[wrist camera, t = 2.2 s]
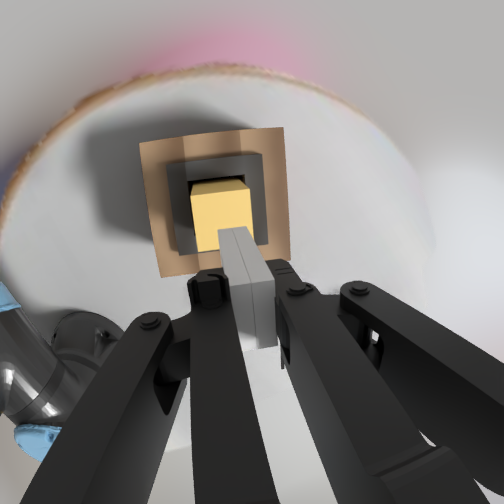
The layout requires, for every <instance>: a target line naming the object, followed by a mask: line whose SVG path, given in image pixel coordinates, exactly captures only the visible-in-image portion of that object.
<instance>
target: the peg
mask: <svg viewBox="0 0 504 504" xmlns="http://www.w3.org/2000/svg"><path fill="white" fill-rule="evenodd" d="M191 204H192V212H193V219H194V226H195V234H196V241H197V247H198V252H202V251H209V250H217V249H220V248H219V240H218V232H217V230H218V229H226V228H234V227H243V226H247V228H248V230H249V232H250V234H251V236H252V238H253V240H254V235H253V223H252V211H251V199H250V189H249V188H248V187H247V186H246V185H245V184H244V183H243V182H241V181H240V180H239V179H238V178H237V177H231V178H222V179H214V180H206V181H198V182H194V184H193V188H192V192H191Z"/></svg>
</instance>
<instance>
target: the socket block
mask: <svg viewBox="0 0 504 504" xmlns="http://www.w3.org/2000/svg"><path fill="white" fill-rule="evenodd" d="M139 148H140V156H141V165H142V173H143V180H144V187H145V194H146V201H147V207H148V213H149V219H150V225H151V231H152V236H153V241H154V247H155V252H156V257H157V262H158V267H159V271H160V276H161V278H163V277H171V276H178V275H186V274H194V273H198V272H199V271H200V270H205V269H213V268H220V267H222V264H221V256H220V249H217V250H209V251H202V252H198V247H197V241H196V234H195V226H194V219H193V212H192V204H191V192H192V188H193V181H192V180H199V179H207V178H216V177H224V176H233V175H234V177H237V178H238V179H239V180H240V181H241V182H243V183H244V184H245V185H246V186H247V187H248V188H249V189H250V199H251V211H252V223H253V235H254V242H255V243H256V245H257V247H258V249H259V251H260V253H261V255H262V257H263V258H264V260H265V261H266V260H273V259H280V258H281V259H283V260H285V261H289V260H291V257H290V231H289V210H288V190H287V173H286V158H285V143H284V130H283V127H279V128H259V129H245V130H233V131H222V132H212V133H204V134H195V135H188V136H180V137H173V138H167V139H161V140H154V141H149V142H143V143H139Z"/></svg>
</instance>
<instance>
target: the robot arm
mask: <svg viewBox="0 0 504 504" xmlns="http://www.w3.org/2000/svg"><path fill="white" fill-rule="evenodd" d="M217 232H218V240H219V248H220V256H221V264H222V267H220V268H213V269H205V270H200V271H199V272H198V273H197V274H196V276H194V277H192V278H191V279H189V280H188V282H187V287H188V292H189V297H190V302H191V312H190V313H188V314H187V315H185V316H183V317H181V318H178V319H175V320H170V318H169V316H168V315H167V314H165V313H162V312H148V313H145V314H142V315H141V316H139V317H137V318H136V319H135V320H133V321H132V323H131V324H130V325H129V327H128V328H127V330H126V331H125V332H124V331H123V330H122V329H121V328H120V327H119V326H117V325H116V324H115V323H113V322H112V321H110V320H108V319H107V318H105V317H102V316H100V315H97V314H94V313H89V312H76V313H72V314H69V315H67V316H66V317H64V318H63V319H62V320H61V321H60V322H59V324H58V326H57V327H56V329H55V330H54V333H53V336H52V341H51V347H50V346H49V345H48V343H47V342H46V341H45V340H44V338H43V337H42V336H41V335H40V333H39V332H38V331H37V329H36V328H35V327H34V325H33V324H32V323H31V321H30V320H29V319H28V317H27V316H26V314H25V313H24V311H23V310H22V308H21V305H20V303H17V301H16V300H15V299H14V297H13V296H12V295H11V293H10V292H9V291H8V289H7V288H6V286H5V285H4V284H3V283H2V282H1V281H0V416H1V414H2V413H4V414H5V415H6V416H7V417H8V418H9V419H10V420H11V421H12V422H13V423H14V424H15V425H16V428H15V429H14V438H15V441H16V442H17V443H18V445H19V447H20V448H21V449H22V450H23V451H24V452H26V453H27V454H28V455H30V456H31V457H33V458H35V459H36V460H38V461H40V462H42V463H41V465H40V466H39V468H38V470H37V472H36V474H35V476H34V477H33V479H32V481H31V483H30V485H29V487H28V488H27V490H26V492H25V494H24V496H23V498H22V500H21V502H20V504H147V502H148V499H149V496H150V493H151V490H152V487H153V484H154V480H155V477H156V474H157V471H158V468H159V465H160V462H161V459H162V456H163V453H164V450H165V447H166V444H167V441H168V438H169V435H170V432H171V429H172V426H173V423H174V420H175V417H176V414H177V411H178V408H179V405H180V402H181V399H182V396H183V394H184V391H185V388H186V385H187V378H189V377H190V406H191V441H192V462H193V479H194V494H195V504H280V502H279V499H278V496H277V493H276V489H275V485H274V481H273V478H272V474H271V470H270V466H269V462H268V459H267V454H266V450H265V446H264V442H263V439H262V434H261V431H260V426H259V422H258V418H257V414H256V410H255V405H254V401H253V397H252V393H251V388H250V384H249V380H248V375H247V371H246V366H245V362H244V357H243V353H242V351H249V350H255V349H261V348H267V347H273V346H278V338H279V340H280V346H281V369H284V364H285V366H286V369H287V372H288V374H289V377H290V380H291V382H292V385H293V388H294V390H295V393H296V396H297V398H298V401H299V403H300V406H301V409H302V411H303V414H304V417H305V419H306V422H307V425H308V427H309V430H310V433H311V435H312V438H313V440H314V443H315V446H316V448H317V451H318V453H319V456H320V458H321V461H322V464H323V466H324V469H325V471H326V474H327V477H328V479H329V482H330V484H331V487H332V489H333V492H334V495H335V497H336V500H337V502H338V504H490V503H489V501H488V500H487V498H486V497H485V495H484V494H483V492H482V491H481V489H480V488H479V486H478V485H477V483H476V482H475V480H476V481H477V482H479V483H480V484H481V485H483V486H484V487H485V488H487V489H489V490H491V491H493V492H494V493H496V494H498V495H501V496H504V363H502V362H500V361H499V360H497V359H496V358H494V357H493V356H491V355H489V354H488V353H486V352H485V351H483V350H482V349H480V348H478V347H477V346H475V345H473V344H472V343H470V342H468V341H467V340H466V339H464V338H462V337H461V336H459V335H457V334H456V333H454V332H452V331H451V330H449V329H448V328H446V327H444V326H443V325H441V324H439V323H438V322H436V321H434V320H433V319H431V318H429V317H428V316H426V315H424V314H423V313H421V312H419V311H418V310H416V309H414V308H413V307H411V306H409V305H407V304H406V303H404V302H402V301H401V300H399V299H397V298H395V297H394V296H392V295H390V294H389V293H387V292H385V291H383V290H382V289H380V288H378V287H376V286H375V285H373V284H370V283H368V282H363V281H352V282H348V283H346V284H344V285H342V287H341V288H340V295H323V294H321V293H320V292H319V291H318V289H317V288H316V287H315V286H314V285H312V284H310V283H307V282H302V281H301V279H300V278H299V276H298V275H297V273H296V272H295V271H294V269H293V268H292V266H291V265H290V264H289V262H287V261H285V260H283V259H281V258H280V259H273V260H266V261H265V260H264V258H263V257H262V255H261V253H260V251H259V249H258V247H257V245H256V243H255V242H254V240H253V238H252V236H251V234H250V232H249V230H248V228H247V226H243V227H234V228H226V229H218V230H217ZM373 331H375V332H376V333H378V334H379V337H378V341H375V340H373V339H372V332H373ZM277 335H278V338H277ZM419 431H420V432H421V433H422V434H423V435H425V436H426V437H427V438H428V439H429V440H430V441H431V442H433V443H434V444H435V445H436V447H433V446H431V445H429V444H428V443H427V442H426V441H425V439H424V438H423V436H422V435H421V433H420V432H419ZM473 478H474V479H475V480H474V479H473Z"/></svg>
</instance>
